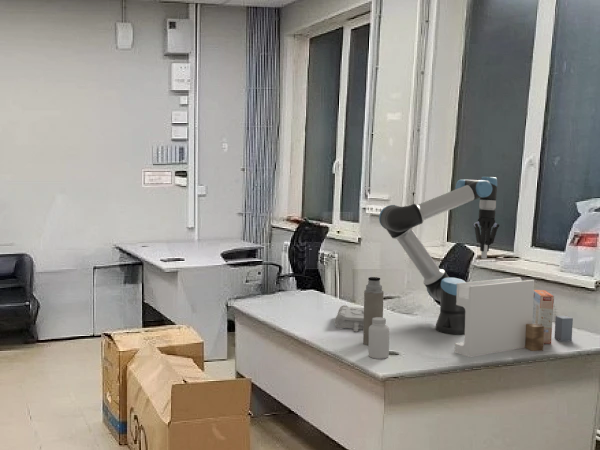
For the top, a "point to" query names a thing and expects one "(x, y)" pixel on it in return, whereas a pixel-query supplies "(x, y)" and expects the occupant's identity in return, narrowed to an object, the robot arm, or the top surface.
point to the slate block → (563, 328)
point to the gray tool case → (350, 318)
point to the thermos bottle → (372, 305)
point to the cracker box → (543, 312)
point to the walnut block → (534, 337)
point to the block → (495, 315)
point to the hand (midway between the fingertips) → (483, 258)
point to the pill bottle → (378, 339)
